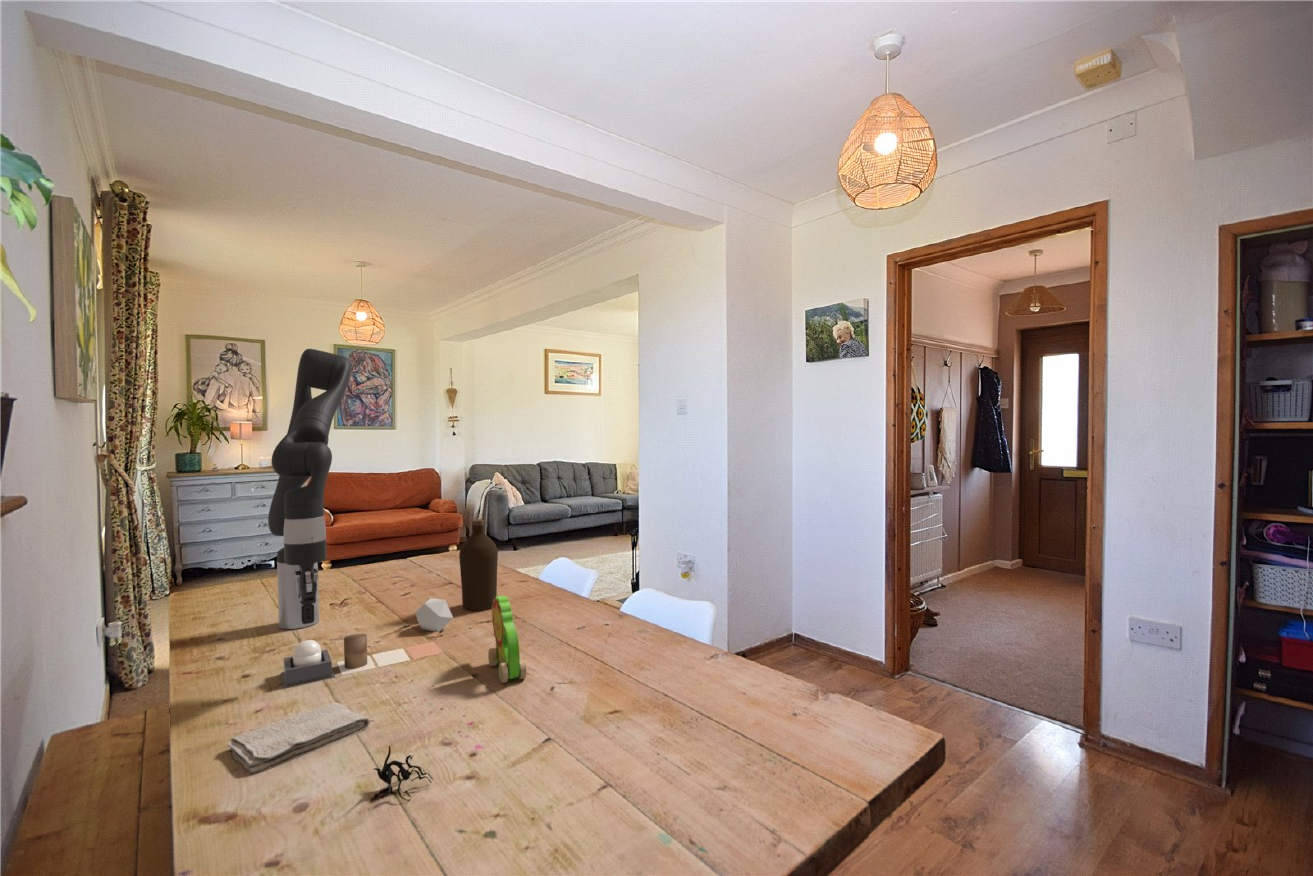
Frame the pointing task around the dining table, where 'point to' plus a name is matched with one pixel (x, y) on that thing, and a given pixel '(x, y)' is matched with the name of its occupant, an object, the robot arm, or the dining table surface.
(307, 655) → the dome
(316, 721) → the washcloth
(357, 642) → the brown cylinder
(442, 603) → the die
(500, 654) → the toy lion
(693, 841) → the dining table surface
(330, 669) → the button base
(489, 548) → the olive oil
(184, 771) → the dining table surface
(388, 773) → the creature
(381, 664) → the game board
